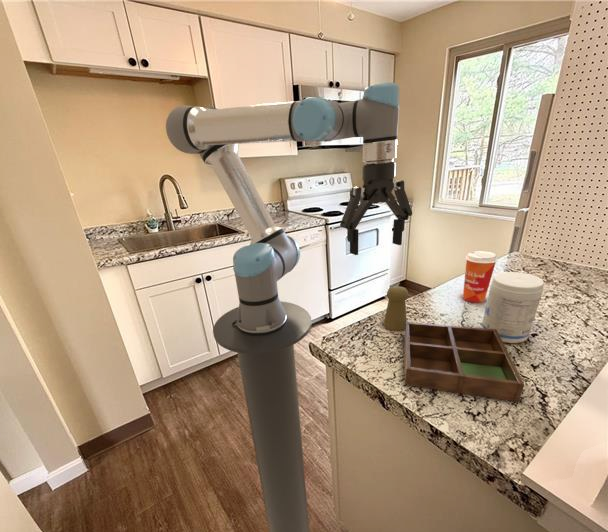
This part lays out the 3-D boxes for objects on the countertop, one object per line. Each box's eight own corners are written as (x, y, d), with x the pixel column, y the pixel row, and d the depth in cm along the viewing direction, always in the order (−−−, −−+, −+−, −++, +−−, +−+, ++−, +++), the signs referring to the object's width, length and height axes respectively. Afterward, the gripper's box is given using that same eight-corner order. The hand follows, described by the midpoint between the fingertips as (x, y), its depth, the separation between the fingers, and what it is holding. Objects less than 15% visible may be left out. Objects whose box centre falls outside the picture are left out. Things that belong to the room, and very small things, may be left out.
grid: (404, 384, 64) (406, 368, 62) (404, 335, 80) (405, 321, 78) (519, 402, 57) (524, 384, 55) (493, 344, 73) (496, 329, 71)
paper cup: (453, 296, 96) (460, 253, 90) (472, 291, 98) (480, 248, 92) (475, 306, 89) (484, 260, 84) (495, 300, 91) (505, 255, 86)
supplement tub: (479, 321, 82) (490, 269, 76) (523, 327, 78) (539, 272, 72) (482, 341, 74) (495, 285, 68) (532, 348, 70) (550, 288, 64)
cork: (406, 319, 87) (409, 283, 82) (407, 331, 82) (411, 293, 77) (383, 318, 89) (385, 283, 84) (383, 329, 83) (385, 292, 79)
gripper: (341, 168, 67) (342, 261, 76) (433, 155, 73) (424, 242, 82) (324, 168, 73) (327, 254, 82) (410, 157, 80) (404, 237, 89)
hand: (375, 248), depth 82 cm, fingers open, 13 cm apart
